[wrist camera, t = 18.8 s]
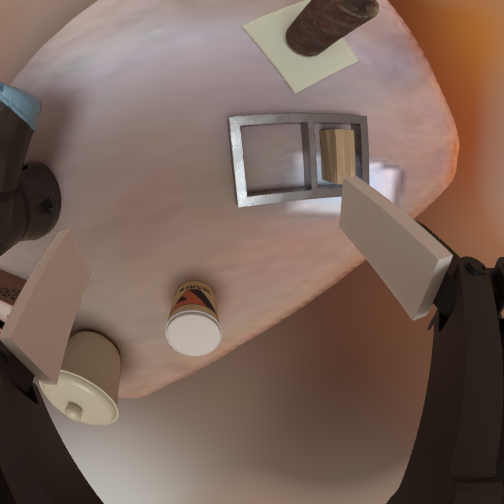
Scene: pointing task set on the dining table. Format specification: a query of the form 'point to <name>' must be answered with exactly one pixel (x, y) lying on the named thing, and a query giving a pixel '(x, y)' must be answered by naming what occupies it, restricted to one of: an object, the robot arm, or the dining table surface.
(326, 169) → the offcut stack
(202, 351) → the coffee cup
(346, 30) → the dark brown tall cylinder
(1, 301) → the tissue box cover
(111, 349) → the canister
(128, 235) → the dining table surface
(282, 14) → the mat
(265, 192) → the offcut rack
